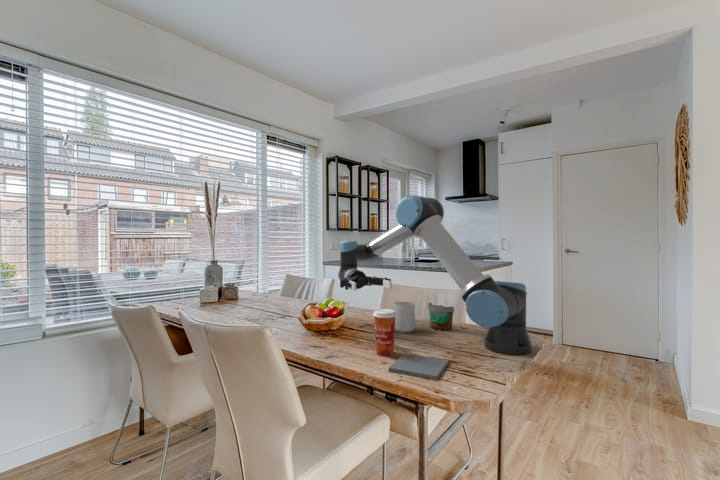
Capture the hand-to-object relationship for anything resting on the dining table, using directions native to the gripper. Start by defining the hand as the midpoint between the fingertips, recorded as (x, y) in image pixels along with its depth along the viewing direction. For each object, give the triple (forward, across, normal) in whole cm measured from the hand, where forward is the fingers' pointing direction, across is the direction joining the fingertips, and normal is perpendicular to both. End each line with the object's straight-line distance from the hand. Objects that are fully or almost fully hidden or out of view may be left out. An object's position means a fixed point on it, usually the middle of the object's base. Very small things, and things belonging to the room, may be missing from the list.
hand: (373, 286), depth 127 cm
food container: (-11, -33, -21) cm, 41 cm away
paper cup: (+10, 0, -21) cm, 24 cm away
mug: (-15, -20, -21) cm, 33 cm away
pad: (+25, -5, -21) cm, 33 cm away
